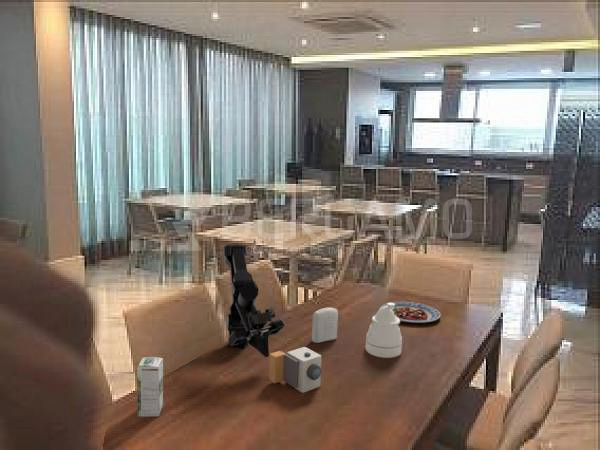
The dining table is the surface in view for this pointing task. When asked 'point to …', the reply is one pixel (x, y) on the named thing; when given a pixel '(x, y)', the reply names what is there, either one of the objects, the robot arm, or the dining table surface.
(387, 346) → the honey pot
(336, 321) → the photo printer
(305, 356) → the block
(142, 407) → the syrup box
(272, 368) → the side door
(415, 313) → the ceramic plate
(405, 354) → the dining table surface
